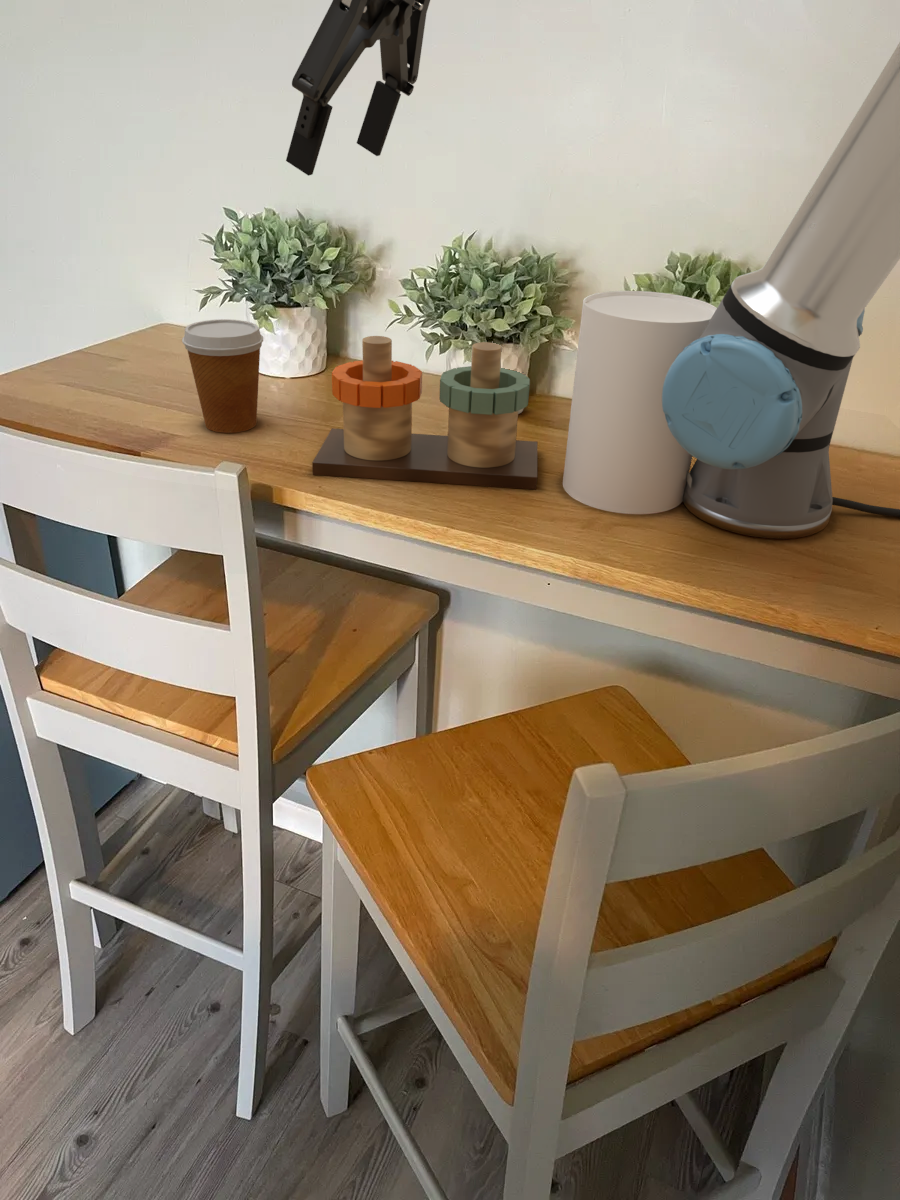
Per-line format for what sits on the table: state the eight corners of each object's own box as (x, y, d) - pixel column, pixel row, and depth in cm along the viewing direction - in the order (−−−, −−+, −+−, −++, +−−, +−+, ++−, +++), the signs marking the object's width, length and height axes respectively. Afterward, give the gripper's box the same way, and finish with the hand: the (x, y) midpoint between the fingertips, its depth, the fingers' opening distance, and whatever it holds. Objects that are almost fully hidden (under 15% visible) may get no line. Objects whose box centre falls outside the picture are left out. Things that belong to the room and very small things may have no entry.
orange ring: (425, 382, 105) (425, 362, 103) (415, 410, 96) (415, 388, 95) (342, 377, 105) (341, 357, 104) (325, 404, 97) (324, 382, 96)
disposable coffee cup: (227, 443, 107) (217, 343, 101) (176, 425, 112) (163, 328, 106) (285, 423, 114) (279, 328, 108) (234, 406, 119) (226, 314, 113)
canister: (545, 498, 97) (565, 309, 87) (583, 457, 108) (604, 285, 98) (668, 525, 93) (704, 329, 83) (695, 479, 103) (730, 301, 93)
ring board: (536, 453, 108) (546, 336, 101) (536, 489, 99) (547, 364, 92) (332, 439, 110) (328, 323, 103) (312, 474, 100) (306, 349, 93)
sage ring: (528, 389, 104) (530, 368, 103) (527, 417, 96) (529, 395, 94) (444, 384, 104) (444, 363, 103) (435, 411, 96) (436, 389, 95)
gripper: (436, -92, 88) (365, 125, 102) (295, -114, 69) (232, 155, 83) (499, -52, 87) (420, 160, 101) (374, -64, 68) (298, 198, 82)
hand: (335, 158), depth 92 cm, fingers open, 13 cm apart
